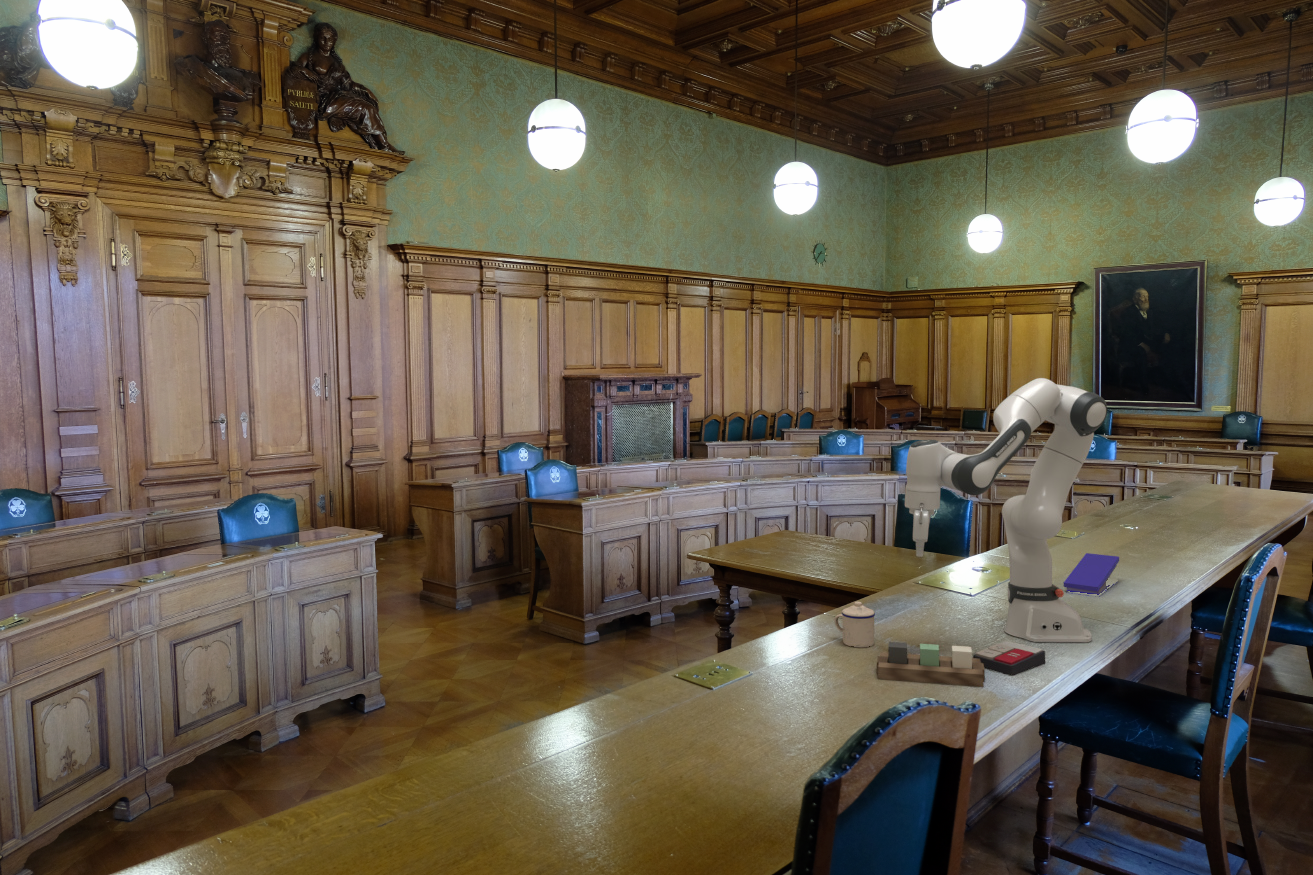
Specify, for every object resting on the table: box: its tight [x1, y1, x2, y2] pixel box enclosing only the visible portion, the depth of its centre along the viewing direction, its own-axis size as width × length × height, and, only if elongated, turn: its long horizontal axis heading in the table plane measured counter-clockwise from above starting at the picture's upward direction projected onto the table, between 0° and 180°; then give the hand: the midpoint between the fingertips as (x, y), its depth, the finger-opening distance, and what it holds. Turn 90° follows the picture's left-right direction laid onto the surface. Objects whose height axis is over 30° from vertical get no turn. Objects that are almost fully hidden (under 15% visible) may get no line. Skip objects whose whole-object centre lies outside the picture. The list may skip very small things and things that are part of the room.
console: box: [876, 651, 986, 688], centre depth 203 cm, size 25×12×3 cm, turn 72°
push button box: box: [972, 640, 1046, 677], centre depth 209 cm, size 11×4×15 cm
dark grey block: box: [887, 641, 908, 664], centre depth 205 cm, size 4×4×5 cm
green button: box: [919, 643, 940, 667], centre depth 203 cm, size 4×4×5 cm
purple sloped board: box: [1063, 552, 1120, 595], centre depth 287 cm, size 12×28×10 cm, turn 139°
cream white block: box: [951, 645, 973, 669], centre depth 200 cm, size 4×4×5 cm
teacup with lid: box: [834, 601, 876, 648], centre depth 231 cm, size 12×9×12 cm
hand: (920, 552), depth 218 cm, fingers open, 8 cm apart
